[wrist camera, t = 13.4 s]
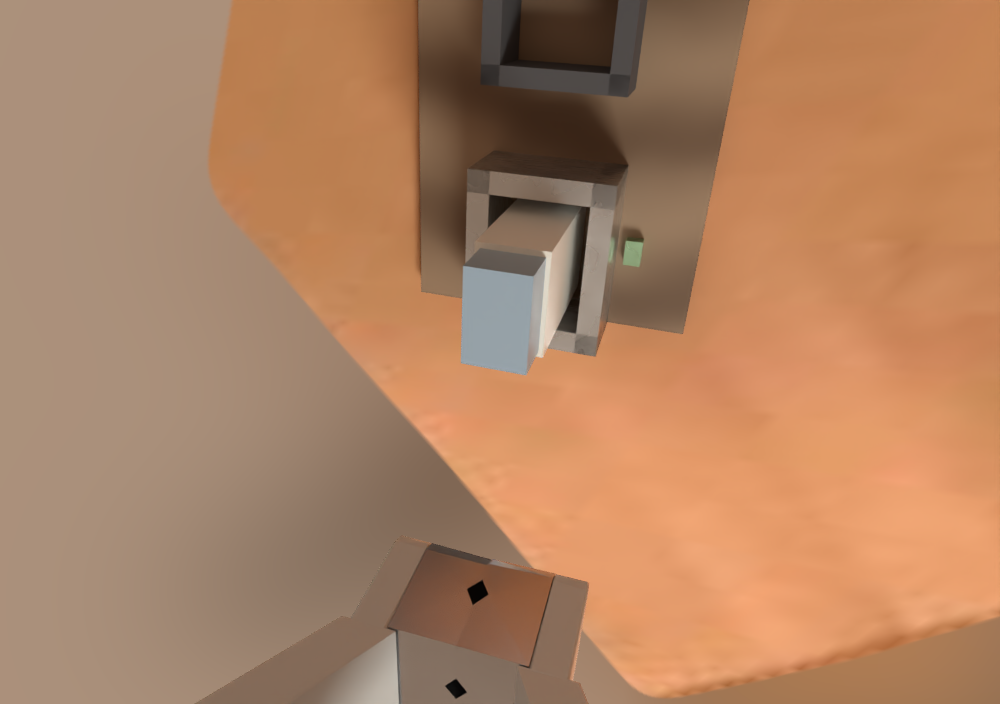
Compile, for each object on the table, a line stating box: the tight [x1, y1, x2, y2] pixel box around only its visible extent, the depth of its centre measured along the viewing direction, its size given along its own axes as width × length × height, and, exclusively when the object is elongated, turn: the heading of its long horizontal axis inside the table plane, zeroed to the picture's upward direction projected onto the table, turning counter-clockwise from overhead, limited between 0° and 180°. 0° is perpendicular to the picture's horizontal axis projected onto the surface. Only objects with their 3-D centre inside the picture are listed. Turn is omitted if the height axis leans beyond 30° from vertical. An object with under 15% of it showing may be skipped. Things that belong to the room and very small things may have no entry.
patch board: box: [418, 0, 749, 334], centre depth 31 cm, size 20×14×1 cm
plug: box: [461, 198, 586, 375], centre depth 29 cm, size 4×3×10 cm, turn 177°
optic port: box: [465, 150, 644, 356], centre depth 31 cm, size 8×8×4 cm
